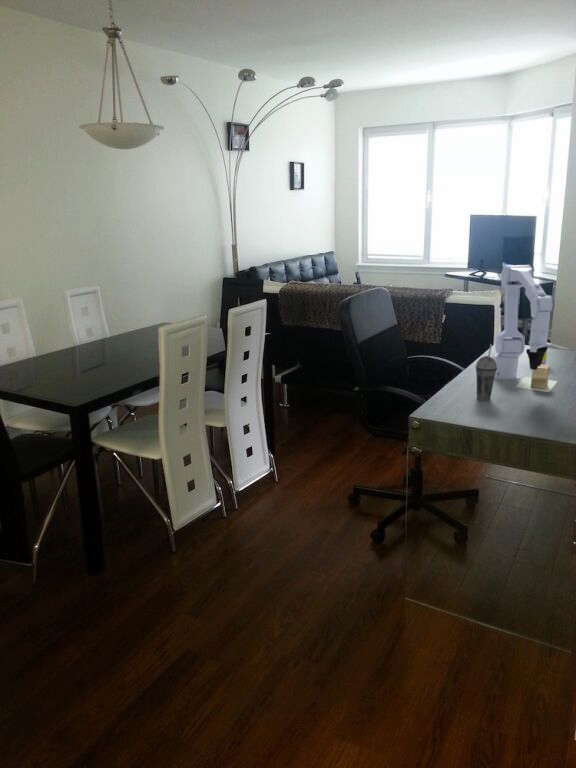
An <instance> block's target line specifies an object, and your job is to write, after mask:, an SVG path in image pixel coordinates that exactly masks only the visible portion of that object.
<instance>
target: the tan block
mask: <svg viewBox="0 0 576 768" xmlns="http://www.w3.org/2000/svg"><path fill="white" fill-rule="evenodd" d="M550 368H551V367H550V364H549V365H548V364H545V365H540V366H538V368H537V370H533V369H531V370H532V371H531V377H532V379H531V387H532V388H538V389H545V388H546V387H547V386H548V380H549V377H550Z"/></svg>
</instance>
